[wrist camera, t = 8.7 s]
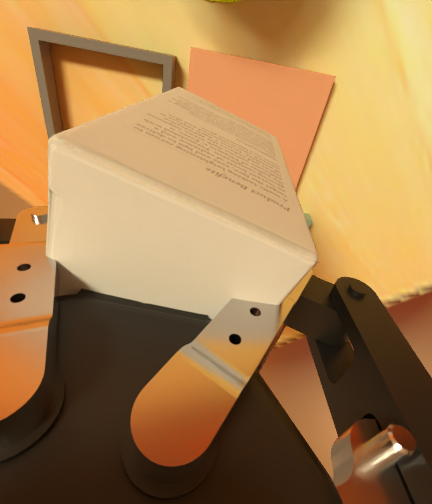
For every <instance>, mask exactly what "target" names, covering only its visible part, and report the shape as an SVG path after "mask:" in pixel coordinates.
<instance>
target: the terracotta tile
mask: <svg viewBox="0 0 432 504" xmlns="http://www.w3.org/2000/svg"><path fill="white" fill-rule="evenodd" d="M335 77H336V76H332V75H327V74H322V73H317V72H312V71H307V70H302V69H297V68H292V67H287V66H282V65H277V64H272V63H267V62H262V61H258V60H253V59H248V58H243V57H238V56H233V55H228V54H223V53H218V52H213V51H208V50H203V49H198V48H193V47H191V53H190V65H189V76H188V88H187V91H189V92H191V93H193V94H195V95H197V96H199V97H201V98H203V99H205V100H207V101H209V102H211V103H213V104H215V105H217V106H219V107H220V108H222V109H224V110H226V111H228V112H230V113H232V114H234V115H236V116H238V117H240V118H242V119H244V120H246V121H248V122H249V123H251V124H253V125H255V126H257V127H259V128H261V129H263V130H264V131H266V132H268V133H270V134H272V135H273V136H275V137H277V139H278V142H279V145H280V148H281V151H282V154H283V156H284V159H285V162H286V165H287V168H288V171H289V174H290V177H291V179H292V182H293V185H294V188H295V189H296V187H297V184H298V181H299V178H300V175H301V173H302V170H303V167H304V164H305V161H306V158H307V156H308V153H309V150H310V147H311V144H312V142H313V139H314V136H315V133H316V130H317V128H318V125H319V122H320V119H321V116H322V113H323V111H324V108H325V105H326V102H327V99H328V97H329V94H330V91H331V88H332V85H333V82H334V80H335Z"/></svg>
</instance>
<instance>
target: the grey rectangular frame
mask: <svg viewBox="0 0 432 504" xmlns="http://www.w3.org/2000/svg"><path fill="white" fill-rule="evenodd" d="M27 29H28V34H29V39H30V44H31V50H32V55H33V60H34V66H35V71H36V76H37V81H38V87H39V92H40V97H41V102H42V108H43V113H44V118H45V124H46V129H47V134H48V139H49V138H51V137H52V136H53V135H55V134H58V133H60V132H63V128H62V121H61V115H60V109H59V102H58V96H57V89H56V83H55V77H54V70H53V64H52V58H51V51H50V45H49V42H51V43H57V44H62V45H67V46H72V47H77V48H82V49H87V50H92V51H97V52H102V53H107V54H112V55H117V56H122V57H127V58H132V59H137V60H142V61H147V62H152V63H157V64H162V65H163V88H162V93H164V92H166V91H169V90H172V89H174V81H175V65H176V56H173V55H168V54H163V53H158V52H153V51H148V50H143V49H138V48H133V47H128V46H123V45H118V44H113V43H108V42H103V41H99V40H94V39H89V38H84V37H79V36H74V35H69V34H64V33H59V32H54V31H49V30H44V29H39V28H32V27H27Z"/></svg>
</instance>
